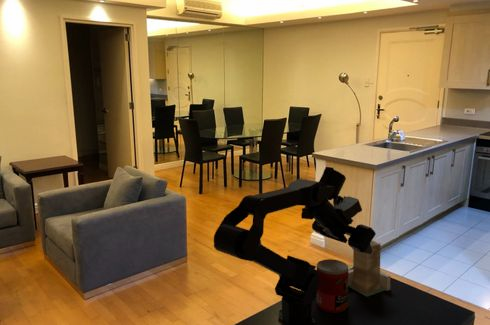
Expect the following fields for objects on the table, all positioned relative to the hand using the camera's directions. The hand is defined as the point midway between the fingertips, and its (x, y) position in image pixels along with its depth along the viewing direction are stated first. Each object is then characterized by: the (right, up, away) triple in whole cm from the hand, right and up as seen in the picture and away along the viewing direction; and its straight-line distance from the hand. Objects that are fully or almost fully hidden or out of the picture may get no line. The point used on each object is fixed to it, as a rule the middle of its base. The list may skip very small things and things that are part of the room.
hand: (358, 246), depth 108 cm
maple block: (+3, -12, +4) cm, 13 cm away
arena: (+2, -12, +3) cm, 13 cm away
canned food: (-8, -14, -4) cm, 17 cm away
